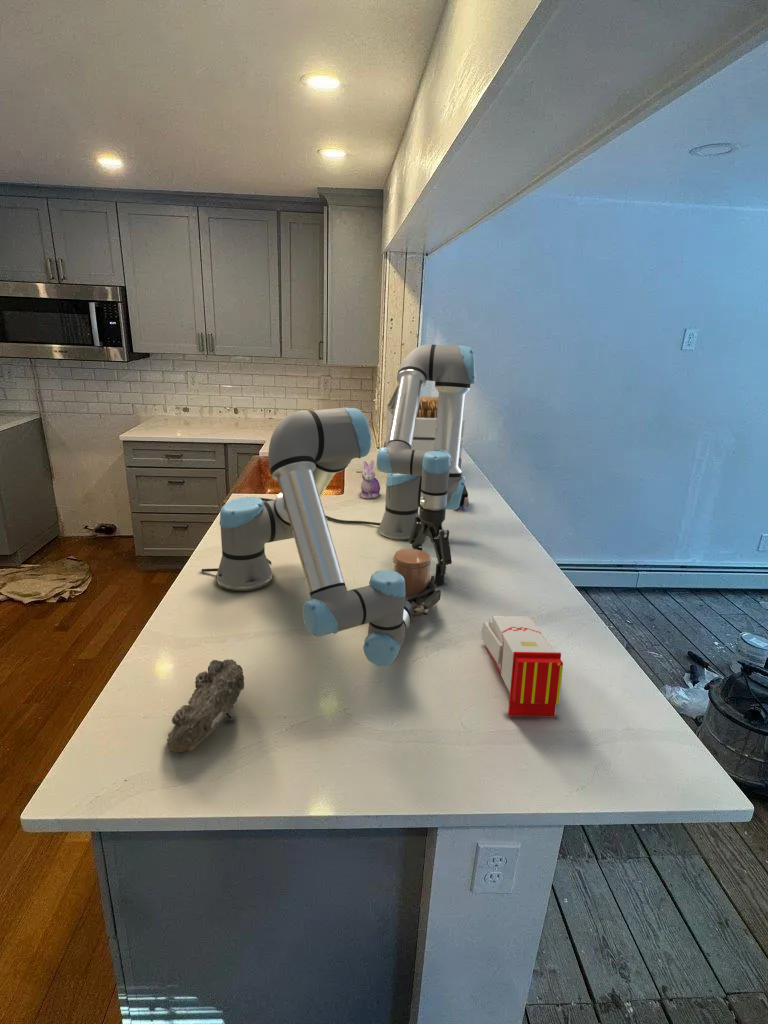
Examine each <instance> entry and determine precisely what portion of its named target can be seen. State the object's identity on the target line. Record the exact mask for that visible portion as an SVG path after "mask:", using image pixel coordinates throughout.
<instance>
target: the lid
mask: <svg viewBox="0 0 768 1024" xmlns="http://www.w3.org/2000/svg"><path fill="white" fill-rule="evenodd" d="M430 561H431V565H430V578H429V581H430V579H431V576H434V581H435V574H436V564H438V560H436V559H431V558H430ZM447 571H448V567H447V566H446V571H445V572H446V573H445V575H444V577H446V575H447Z"/></svg>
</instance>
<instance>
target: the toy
mask: <svg viewBox="0 0 768 1024" xmlns="http://www.w3.org/2000/svg"><path fill="white" fill-rule="evenodd" d="M481 632H482V633H481V640H482V642H483V644H484V646H485V648H486V650H487V652H488V654H489V655H490V657H491V659H492V661H493V663H494V664H495V666H496V668H497V670H498V671H499V674H500V676H501V678H502V680H503V682H504V684H505V687H506V688H507V690H508V692H509V700H508V702H509V703H508V710H507V711H508V712H507V715H508V717H551V718H552V717H553V718H555V716H556V707H557V705H559V704H560V698H561V697H560V695H561V688H562V687H561V686H562V678H563V669H564V662H563V661H562V653H561V652H556V651H555V649H554V648H553V647H552V645H551V644H550V643H549V641H548V639H547V638H546V637H545V635H544V634H543V633H542V631H541V630H540V629H539V628H538V626H537V624H536V622H535V621H534V620H533V619H532V617H531V616H514V615H513V616H512V615H511V616H508V615H507V616H506V615H505V616H504V615H492V618H489V620H488V623H487V621H483V623H482V631H481Z"/></svg>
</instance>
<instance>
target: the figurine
mask: <svg viewBox="0 0 768 1024" xmlns="http://www.w3.org/2000/svg"><path fill="white" fill-rule="evenodd" d="M362 464H363V470H362V472H361V478H362V481H361V483H360V490H361V491H360V496H361V498H362V499H373V498H377V497H379V496H380V491H381V484H380V481H379V480H378V478H376V473H375V471H374V465H375V460H370V462H369V464H368V462H367V461H366V460H364V461H363V463H362Z"/></svg>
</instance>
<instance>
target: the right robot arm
mask: <svg viewBox="0 0 768 1024" xmlns="http://www.w3.org/2000/svg"><path fill="white" fill-rule="evenodd" d="M475 358H476V357H475V350H474V349H473V347H470V346H466V345H465V346H464V345H455V344H454V345H451V344H432V343H427V344H422V345H419V346H418V347H415V348H414V349H413V350H411V351H410V352H409V353H408V354H407V355H406V356H405V358H404V359H403V360H402V361H401V363H400V365H399V367H398V370H397V375H396V382H397V383H398V385H399V386H398V385H397V386H398V391H397V396H396V401H395V406H394V411H393V416H392V422H391V427H390V432H389V437H388V442H387V447H384V446H381V447H379V449H378V451H377V454H376V469H377V470H378V471H379V472H381V473H384V474H385V473H386V474H387V475H386V482H385V504H384V505H385V507H384V508H385V509H384V513H383V515H382V519H381V522H375V521H365V520H346V519H345V520H344V519H338V518H335V517H331V516H329V515H326V514H325V517H326V520H329V521H332V522H336V523H342V524H361V525H372V526H379V527H378V533H379V534H380V535H381V536H382V537H385V538H387V539H389V540H395V541H408V544H409V545H411V547H412V549H417V550H421V551H423V547H422V546H423V543H424V542H425V540H426V539H427V537H428V539H430V542H431V543H432V546H433V549H434V553H435V556H436V559H437V560H436V561H438V564H436V574H435V580H434V584H436V586H439V585H443V584H444V583H445V576H446V575H445V573H446V574H447V572H445V571H446V567H447V566H450V565H452V564H453V561H452V553H451V545H450V530H449V529H444V528H443V523H444V521H445V520H446V512H447V510H448V511H457V510H458V509H459V508H460V507H459V504H460V500H461V496H462V492H463V488H464V485H465V483H466V477H465V476H463V471H462V469H461V470H460V468H459V467H458V461H459V450H460V440H462V438H461V429H462V419H464V408H465V407H464V406H465V397H466V394H467V393H468V392H469V391H470V390H471V385H474V384H475V383H476V364H475V363H476V360H475ZM427 381H428V382H429V381H430V382H434V388H435V389H436V390H437V392H438V396H437V397H438V408H437V420H436V431H435V443H434V451H420V450H411V448H412V443H413V437H414V431H415V425H416V419H417V413H418V408H419V402H420V397H422V389H424V387H425V386H426V384H427ZM259 498H260V499H261V500H262V501H263V502H266V501H272V500H274V499H273V498H265V497H259ZM456 509H457V510H456ZM444 575H445V576H444Z"/></svg>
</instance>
